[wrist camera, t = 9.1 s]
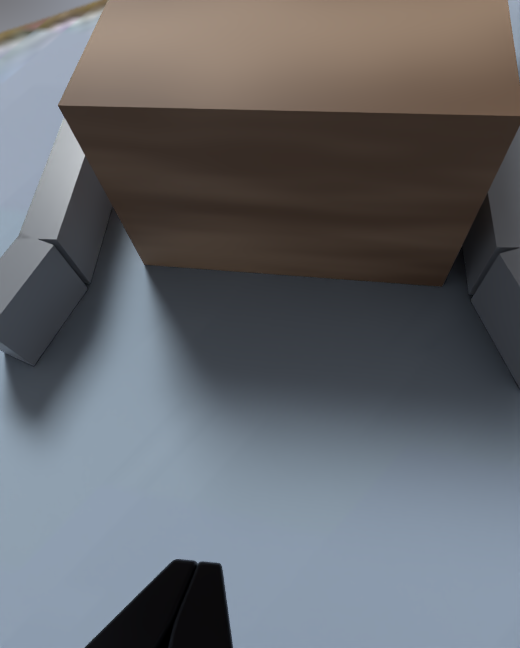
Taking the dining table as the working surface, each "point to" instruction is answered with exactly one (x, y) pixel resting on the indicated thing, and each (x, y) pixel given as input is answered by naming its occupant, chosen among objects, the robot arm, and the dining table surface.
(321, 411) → the dining table surface
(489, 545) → the dining table surface
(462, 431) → the dining table surface
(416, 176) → the walnut box
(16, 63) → the dining table surface
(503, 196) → the box pocket
